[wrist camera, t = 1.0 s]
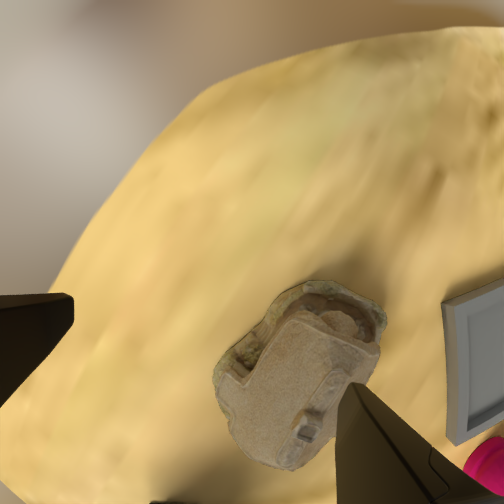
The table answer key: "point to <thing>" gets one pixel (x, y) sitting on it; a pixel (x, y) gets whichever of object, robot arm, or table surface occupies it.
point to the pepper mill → (488, 465)
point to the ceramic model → (297, 371)
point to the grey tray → (474, 361)
